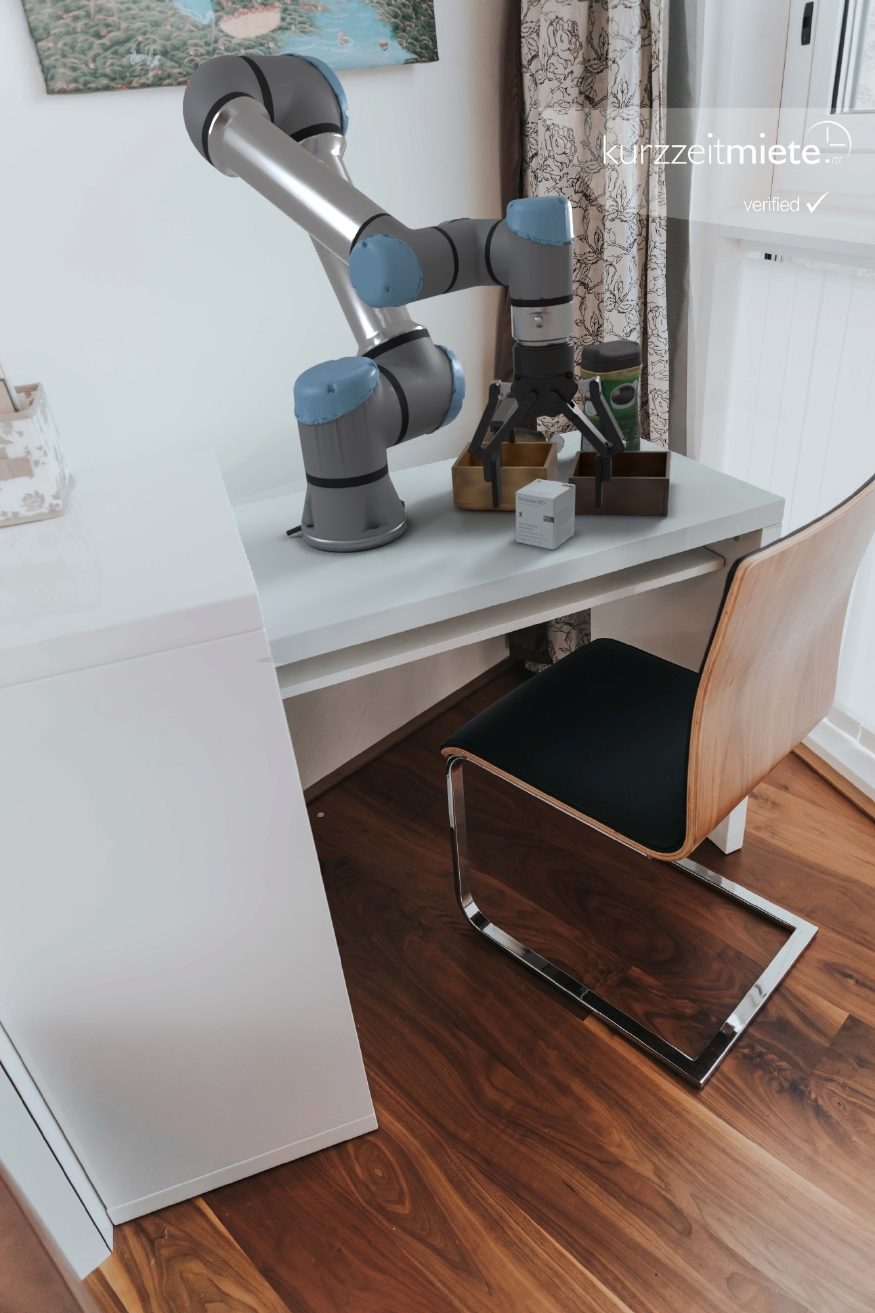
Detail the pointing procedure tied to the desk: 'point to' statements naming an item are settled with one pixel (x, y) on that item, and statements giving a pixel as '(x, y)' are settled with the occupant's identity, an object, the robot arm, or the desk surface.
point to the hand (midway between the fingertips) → (547, 504)
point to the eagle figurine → (537, 437)
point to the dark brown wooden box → (624, 483)
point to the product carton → (545, 513)
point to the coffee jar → (614, 387)
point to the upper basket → (502, 467)
